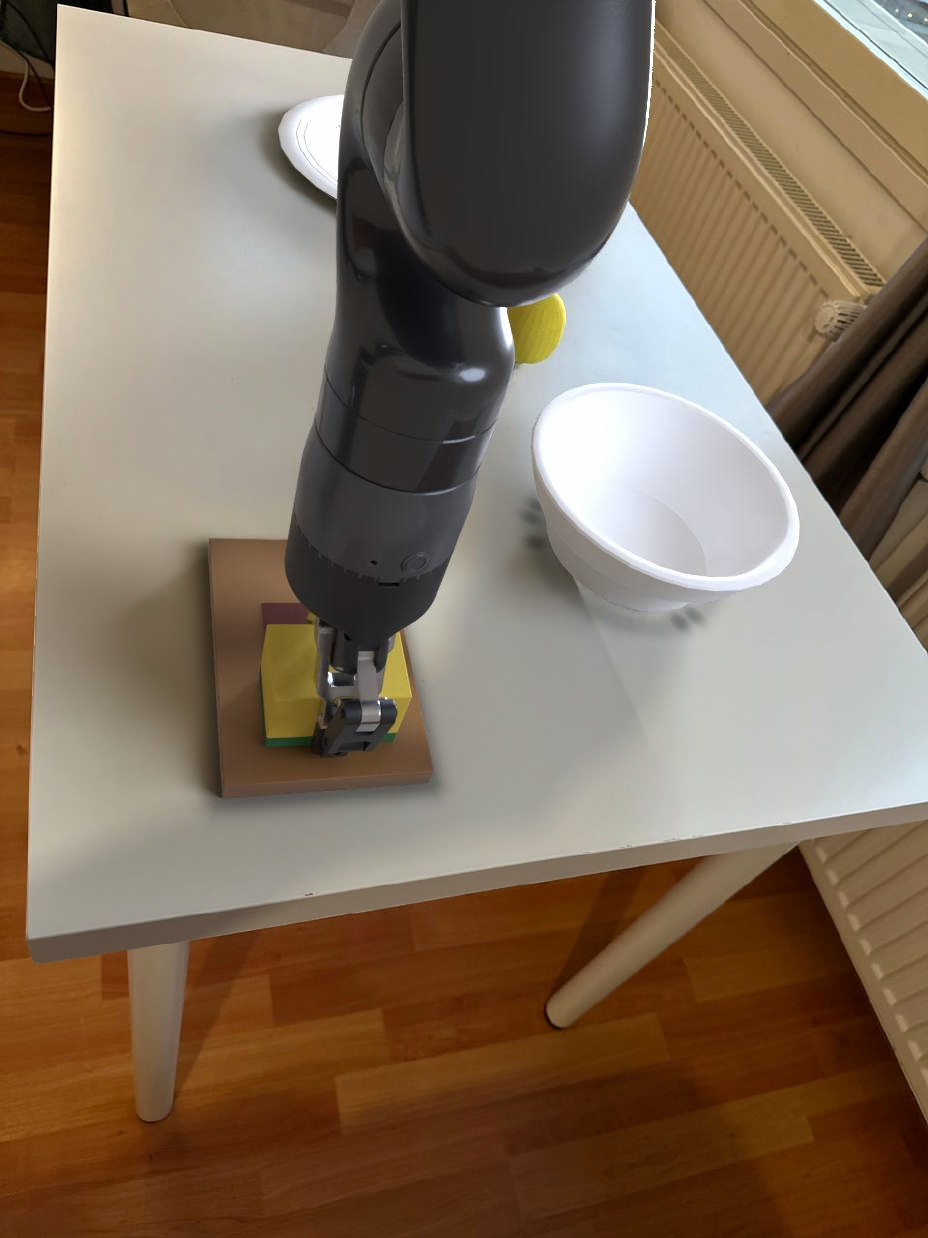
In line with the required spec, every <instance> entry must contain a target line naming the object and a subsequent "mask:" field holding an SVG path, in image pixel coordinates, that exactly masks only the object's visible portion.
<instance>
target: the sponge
mask: <svg viewBox="0 0 928 1238" xmlns="http://www.w3.org/2000/svg"><path fill="white" fill-rule="evenodd" d="M316 651H317V646H316V642H315V639H314V625H311V624H268V625H267V628H266V635H265V641H264V647H263V653H262V659H261V665H260V671H259V680H260V692H261V705H262V718H263V731H264V744H265V747H281V746H303V745H311V740H312V736H313V733H314V729H315V726H316V722H317V714H318V713H319V707H320V700H321V698H320V697H319V696H318V695H317V691H316V687H315V683H314V669H315V660H316ZM329 672H332V673H337V672H338V671H335V670H334V669H333V668H332V667H331V666H330V668H329ZM379 697H386V698H387V699H393V700H394V701H395V704H396V707H397V711H398V713H397V717H396V721H395V724H394V725H393V726H392V728H391V729H390V730H389V731H388V733H387V734H386V735H385V736H384V738H383V739H382V740H381V741H380V742H388V741H394V739H395V737H396V734H397V731H398V729H399V726H400V724H401V722H402V719H403V717H404V714H405V712H406V710H407V707H408V705H409V702H410V700H411V698H412V694H411V689H410V684H409V679H408V673H407V668H406V663H405V658H404V653H403V647H402V642H401V637H400V632H398V633H396V637H395V643H394V648H393V649H392V651H391V652H389V653H388V657H387V662H386V668H385V674H384V680H383V686H382V691H381V693H380V694H379ZM340 698H351V697H340ZM340 698H337V699H336V700H335V701H334V705H337V701H338V699H340Z"/></svg>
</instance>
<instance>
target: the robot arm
mask: <svg viewBox="0 0 928 1238" xmlns="http://www.w3.org/2000/svg"><path fill="white" fill-rule="evenodd" d="M655 3H656V1H655V0H380V1H379V2H378V3H377V5H376V6H375V8H374V10H373V12H372V13H371V15H370V17H369V18H368V19H367V22H366V24H365V26H364V28H363V30H362V33H361V35H360V37H359V39H358V41H357V45H356V48H355V50H354V53H353V56H352V59H351V62H350V63H351V64H350V67H349V72H348V74H347V75H348V76H347V80H346V84H345V90H344V94H343V95H344V101H343V107H342V115H341V124H340V136H339V153H338V175H337V201H336V215H335V216H336V218H335V271H336V273H335V274H336V275H335V276H336V281H335V284H336V285H335V286H336V288H335V309H334V310H335V311H334V321H333V325H332V328H331V332H330V336H329V340H328V345H327V349H326V353H325V357H324V365H323V371H322V376H321V381H320V382H321V383H320V387H319V392H318V399H317V406H316V410H315V414H314V417H313V422H312V425H311V427H310V430H309V433H308V435H307V438H306V440H305V444H304V447H303V450H302V455H301V459H300V464H299V470H298V476H297V482H296V488H295V494H294V500H293V506H292V512H291V518H290V523H289V528H288V535H287V539H286V540H287V546H286V552H285V560H284V565H285V573H286V577H287V580H288V583H289V585H290V587H291V589H292V591H293V593H294V594H295V596H296V597H297V599H298V600H299V601H300V602H301V603H302V604H303V605H304V606H305V607H306V617H305V621H306V623H307V624H311V625H314V639H315V642H316V646H317V651H316V660H315V669H314V683H315V687H316V691H317V695H318V696H319V697H320V698H321V700H320V707H319V713H318V714H317V722H316V726H315V729H314V733H313V736H312V740H311V745H312V752H313V753H314V754H316V755H320V757H321V758H323V757H343V756H347V754H348V751H363V752H366V751H373V750H374V749H375V748H376V746H377V745H378V744H379V743H380V741H381V740H382V739H383V738H384V736H385V735H386V734H387V733H388V731H389V730H390V729H391V728H392V726H393V725H394V724H395V721H396V717H397V713H398V711H397V707H396V704H395V701H394V700H393V699H387V698H386V697H379V694H380V693H381V691H382V686H383V680H384V674H385V668H386V662H387V657H388V653H389V652H391V651H392V649H393V648H394V643H395V637H396V633H398V632H399V631H401V630H402V629H404V630H405V629H406V628H408V626H410V625H412V624H413V623H415V622H416V621H419V619H421V618H422V617H423V616H424V615H425V614H426V613H427V612H428V611H429V609H430V608H431V607H432V605H433V603H434V601H435V600H436V597H437V595H438V593H439V590H440V587H441V585H442V582H443V579H444V577H445V574H446V573H447V569H448V566H449V564H450V561H451V560H452V556H453V554H454V551H455V549H456V546H457V543H458V541H459V538H460V536H461V534H462V530H463V528H464V526H465V523H466V520H467V518H468V515H469V513H470V510H471V508H472V505H473V501H474V497H475V492H476V488H477V483H478V477H479V473H480V469H481V466H482V462H483V459H484V456H485V453H486V451H487V449H488V446H489V444H490V441H491V438H492V435H493V433H494V430H495V428H496V426H497V422H498V420H499V417H500V415H501V412H502V410H503V408H504V405H505V403H506V399H507V397H508V393H509V390H510V386H511V384H512V383H511V382H512V378H513V373H514V368H515V362H516V360H515V348H514V341H513V336H512V332H511V328H510V324H509V320H508V316H507V312H506V310H507V308H510V307H518V306H524V305H529V304H532V303H535V302H538V301H541V300H543V299H546V298H548V297H550V296H552V295H554V294H555V293H557V294H558V293H559V292H561V291H562V290H563V289H565V288H566V287H568V286H569V285H570V284H572V283H573V282H574V281H575V280H576V279H578V278H579V277H580V276H581V275H582V274H583V273H584V272H585V271H586V270H587V268H589V266H591V264H592V263H593V262H594V261H595V260H596V259H597V257H598V256H599V255H600V254H601V252H602V251H603V249H604V248H605V246H606V245H607V243H608V242H609V240H610V239H611V237H612V235H613V234H614V232H615V230H616V228H617V226H618V224H619V222H620V221H621V218H622V216H623V214H624V212H625V209H626V207H627V205H628V202H629V200H630V197H631V194H632V191H633V187H634V185H635V183H636V180H637V179H636V178H637V175H638V172H639V168H640V165H641V159H642V155H643V152H644V151H643V150H644V146H645V145H644V144H645V141H646V134H647V133H646V132H647V127H648V118H649V110H650V98H651V88H652V87H651V86H652V72H653V71H652V69H653V68H652V67H653V52H654V51H653V49H654V29H655V27H654V26H655V6H656V4H655ZM330 666H331V667H332V668H333V669H334V670H335V671H338V672H337V673H332V672H329V668H330ZM340 697H351V698H340ZM337 698H340V699H338V701H337V705H334V701H335V700H336V699H337Z"/></svg>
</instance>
